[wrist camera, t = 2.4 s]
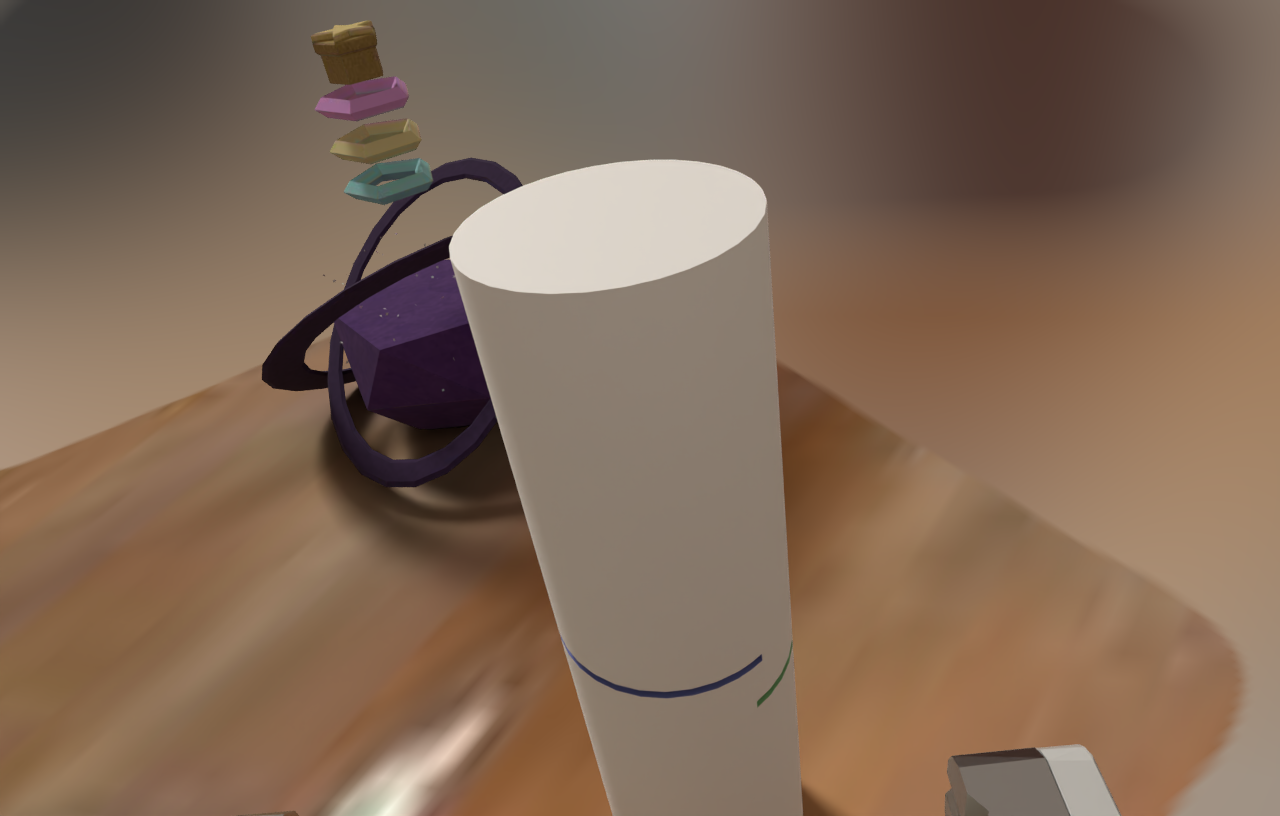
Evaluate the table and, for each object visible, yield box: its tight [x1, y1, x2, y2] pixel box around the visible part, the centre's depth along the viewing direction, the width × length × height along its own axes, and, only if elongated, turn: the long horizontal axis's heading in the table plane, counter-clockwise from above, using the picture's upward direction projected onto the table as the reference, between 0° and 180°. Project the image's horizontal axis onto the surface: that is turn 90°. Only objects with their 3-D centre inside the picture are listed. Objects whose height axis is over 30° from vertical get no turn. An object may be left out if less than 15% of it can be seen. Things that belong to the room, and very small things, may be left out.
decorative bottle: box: [262, 20, 523, 487], centre depth 53 cm, size 22×21×25 cm
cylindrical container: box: [449, 160, 803, 816], centre depth 26 cm, size 7×7×25 cm
